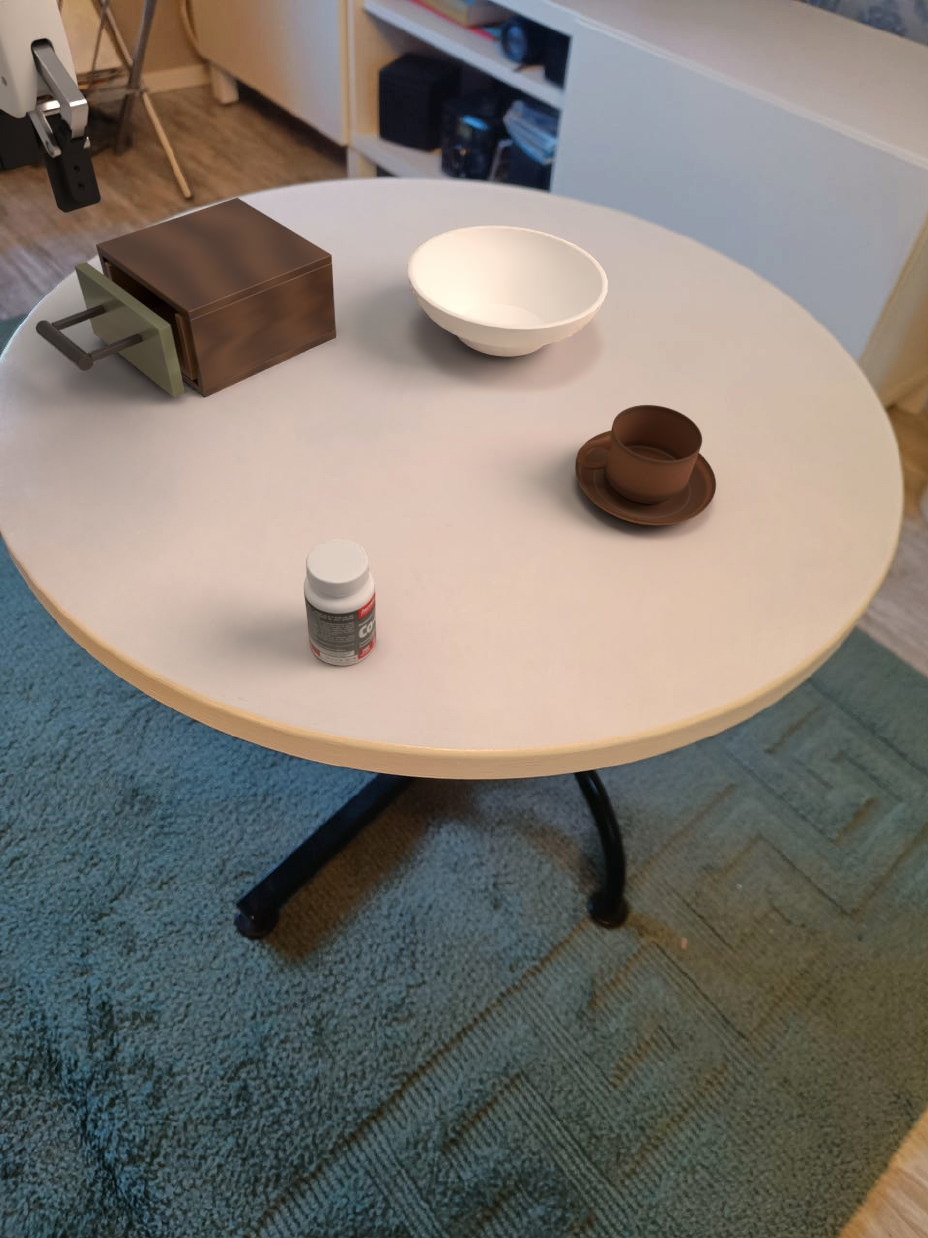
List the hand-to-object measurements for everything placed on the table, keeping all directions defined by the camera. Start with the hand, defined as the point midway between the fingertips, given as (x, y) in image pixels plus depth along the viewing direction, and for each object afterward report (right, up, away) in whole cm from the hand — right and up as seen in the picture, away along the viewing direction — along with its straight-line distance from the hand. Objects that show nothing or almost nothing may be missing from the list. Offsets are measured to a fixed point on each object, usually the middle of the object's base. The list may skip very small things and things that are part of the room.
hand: (49, 183), depth 66 cm
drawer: (+4, -7, +16) cm, 18 cm away
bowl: (+35, -4, +23) cm, 43 cm away
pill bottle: (+23, -35, -4) cm, 42 cm away
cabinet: (+8, -5, +20) cm, 22 cm away
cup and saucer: (+47, -22, +9) cm, 53 cm away
